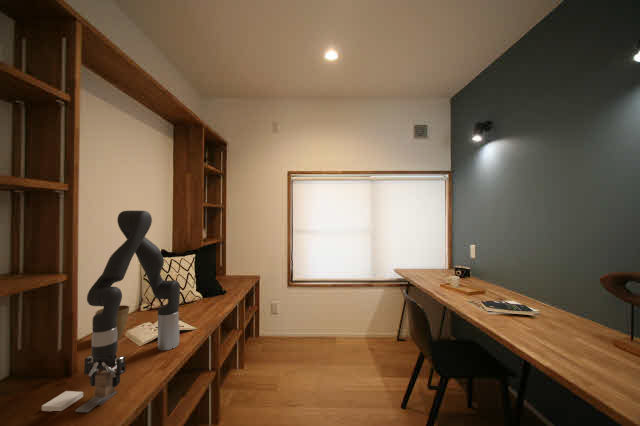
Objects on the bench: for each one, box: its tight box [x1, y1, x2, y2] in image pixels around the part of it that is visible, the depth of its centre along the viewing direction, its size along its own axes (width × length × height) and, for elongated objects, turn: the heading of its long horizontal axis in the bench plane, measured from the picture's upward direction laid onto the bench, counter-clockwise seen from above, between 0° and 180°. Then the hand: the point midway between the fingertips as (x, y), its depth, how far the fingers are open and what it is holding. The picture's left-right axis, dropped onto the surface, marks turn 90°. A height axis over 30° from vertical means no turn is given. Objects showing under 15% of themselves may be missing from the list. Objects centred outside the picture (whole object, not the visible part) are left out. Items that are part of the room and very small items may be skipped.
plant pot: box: [94, 304, 130, 340], centre depth 148 cm, size 15×15×16 cm
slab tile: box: [41, 390, 84, 412], centre depth 96 cm, size 2×7×8 cm
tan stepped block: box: [75, 370, 116, 413], centre depth 96 cm, size 11×4×8 cm, turn 175°
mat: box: [97, 390, 118, 406], centre depth 98 cm, size 7×6×1 cm
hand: (104, 385), depth 99 cm, fingers open, 8 cm apart
